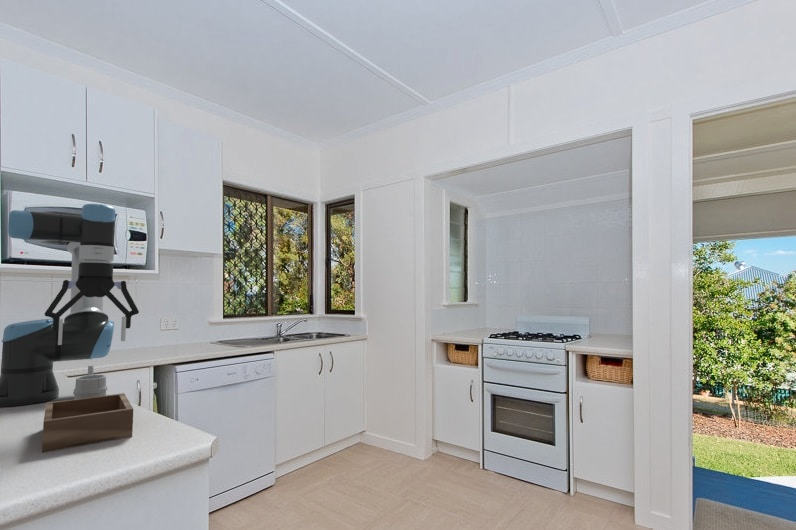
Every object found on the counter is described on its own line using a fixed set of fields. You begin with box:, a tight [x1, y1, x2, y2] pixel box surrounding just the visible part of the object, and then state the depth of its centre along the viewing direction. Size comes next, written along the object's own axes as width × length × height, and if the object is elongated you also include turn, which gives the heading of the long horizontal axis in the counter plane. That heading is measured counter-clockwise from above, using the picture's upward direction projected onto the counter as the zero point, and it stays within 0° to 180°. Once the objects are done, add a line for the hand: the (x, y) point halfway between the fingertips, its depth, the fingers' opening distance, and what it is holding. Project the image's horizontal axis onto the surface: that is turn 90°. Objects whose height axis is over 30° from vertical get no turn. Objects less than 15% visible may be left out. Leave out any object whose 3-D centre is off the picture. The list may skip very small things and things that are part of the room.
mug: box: [73, 364, 108, 399], centre depth 112 cm, size 8×12×12 cm, turn 38°
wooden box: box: [41, 392, 134, 453], centre depth 97 cm, size 18×15×6 cm
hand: (92, 342), depth 113 cm, fingers open, 13 cm apart
